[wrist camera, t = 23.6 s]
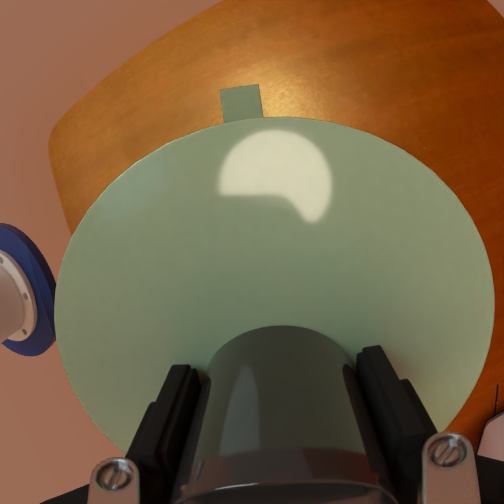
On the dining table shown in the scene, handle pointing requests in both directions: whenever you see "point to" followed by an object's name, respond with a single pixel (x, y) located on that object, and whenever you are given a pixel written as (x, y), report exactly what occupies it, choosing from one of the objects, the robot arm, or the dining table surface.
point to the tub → (493, 438)
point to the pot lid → (274, 304)
